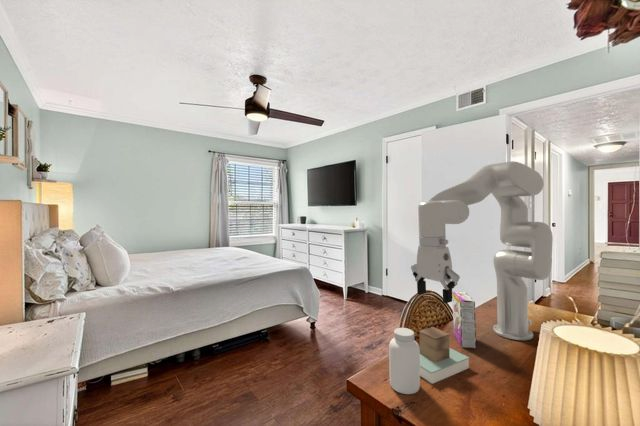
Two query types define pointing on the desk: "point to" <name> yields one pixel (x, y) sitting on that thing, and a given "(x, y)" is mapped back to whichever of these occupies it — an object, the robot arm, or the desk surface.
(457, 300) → the candy bar box
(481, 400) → the desk surface
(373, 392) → the desk surface
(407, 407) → the desk surface
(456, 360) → the book
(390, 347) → the pill bottle
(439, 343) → the walnut block
